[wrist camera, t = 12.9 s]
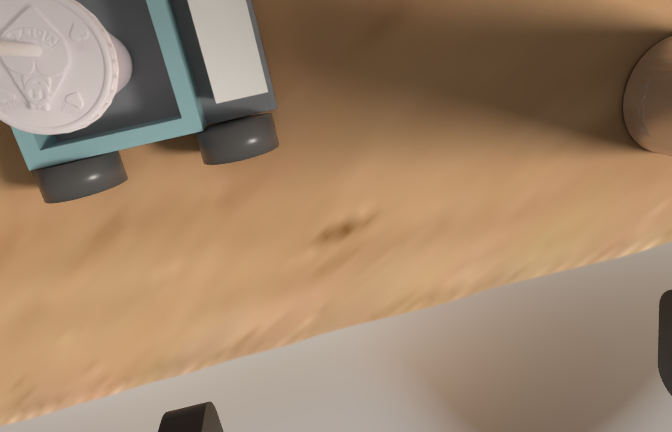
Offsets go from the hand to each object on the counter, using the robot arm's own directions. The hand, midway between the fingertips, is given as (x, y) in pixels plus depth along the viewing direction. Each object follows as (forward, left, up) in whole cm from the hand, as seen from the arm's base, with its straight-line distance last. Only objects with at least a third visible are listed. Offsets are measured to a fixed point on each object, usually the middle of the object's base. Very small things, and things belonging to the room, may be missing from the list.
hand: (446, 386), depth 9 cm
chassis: (+9, -8, -29) cm, 31 cm away
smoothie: (+11, -8, -28) cm, 31 cm away
